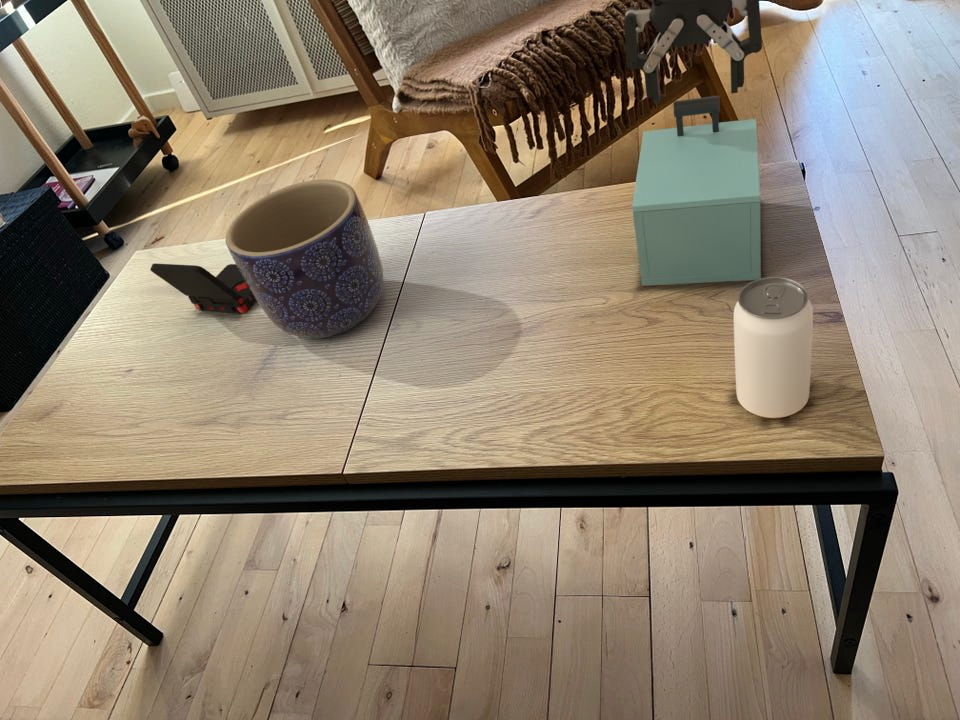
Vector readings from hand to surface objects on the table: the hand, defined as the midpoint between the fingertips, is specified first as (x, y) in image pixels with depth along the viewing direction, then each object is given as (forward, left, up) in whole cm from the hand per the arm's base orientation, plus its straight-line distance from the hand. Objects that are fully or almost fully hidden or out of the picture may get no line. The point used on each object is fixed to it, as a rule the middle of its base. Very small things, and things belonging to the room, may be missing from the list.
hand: (695, 95), depth 89 cm
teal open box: (0, +7, -16) cm, 17 cm away
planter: (+46, +17, -16) cm, 51 cm away
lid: (0, +6, -6) cm, 8 cm away
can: (-7, +33, -16) cm, 37 cm away
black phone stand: (+64, +13, -16) cm, 67 cm away
